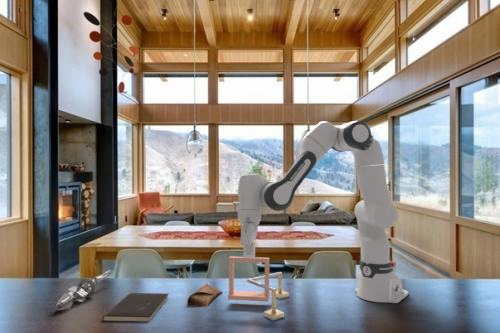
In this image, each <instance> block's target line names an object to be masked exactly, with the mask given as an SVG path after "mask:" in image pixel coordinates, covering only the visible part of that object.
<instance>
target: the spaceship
mask: <svg viewBox="0 0 500 333" xmlns="http://www.w3.org/2000/svg"><path fill="white" fill-rule="evenodd" d="M111 273H112V270H111V269H108V270H107V271H106V272H105V273H102V274H101V275H99V276H95V277H94V278H93V279H91V278H90V277H83V278H81V279H80V280H79V281H78V283H77V286H74V285H73V286H71V287H70V288H68V291H70V292H68V293H67V292H65V293H63V294H62V296H61V297H60V298H59V299H58V300H57V303H56V304H55V306H56V307H55V308H54V309H55V310H57V311H64V310H68V309H71V307H72V305H73V304H74V303H75V302H81V303H83V301H84V300H86V299H87V298H90V297H94V295H95V294H96V291H97V285H98V284H99V283H100V282H102V281H103V280H105V279H106V278H107V277H109V276H110V275H111Z"/></svg>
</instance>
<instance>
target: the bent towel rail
mask: <svg viewBox="0 0 500 333" xmlns="http://www.w3.org/2000/svg"><path fill="white" fill-rule="evenodd" d="M274 277H277V288H276V287H272V286H270V285H269V286H268V285H265V283H261V282H259V281H262V280H265V274H264V275H259V276H255V277H251V278H247V279H246V282H247V283H249V284H251V285H255V286H257V287H260V288H262V289H264V290H265V289H267V290H269V292H270V294H271V295H270V296H271V309H267V310H264V311H263V317H265V318H267V319H269V320H271V321H276V320H279V319H282V318H284V317H285V312H284V311H281V310H279V309H277V299H278V300H281V299H282V300H283V299H285V298H288V297H290V294H289V293H290V292H288V291H284V290H283V271H278V272H274V273H269V279H270V278H274Z"/></svg>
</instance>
